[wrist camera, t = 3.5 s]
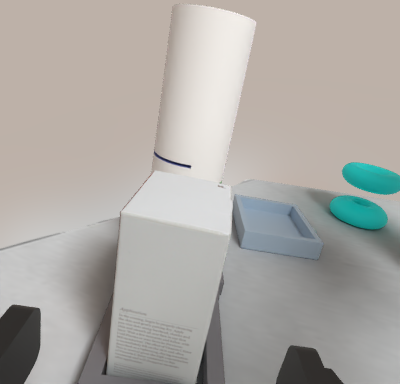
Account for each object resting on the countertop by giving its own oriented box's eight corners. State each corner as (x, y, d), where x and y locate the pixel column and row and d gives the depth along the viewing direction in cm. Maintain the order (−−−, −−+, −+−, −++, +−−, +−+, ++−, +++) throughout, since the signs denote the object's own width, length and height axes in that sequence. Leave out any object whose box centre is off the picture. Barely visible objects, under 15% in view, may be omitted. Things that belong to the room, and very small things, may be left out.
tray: (291, 218, 53) (296, 204, 53) (317, 260, 42) (323, 243, 41) (231, 208, 53) (234, 194, 52) (240, 247, 41) (245, 230, 40)
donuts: (347, 157, 61) (404, 172, 57) (331, 203, 65) (383, 220, 61) (343, 165, 53) (409, 184, 49) (324, 217, 57) (384, 238, 53)
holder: (216, 245, 41) (218, 235, 40) (232, 425, 20) (237, 410, 19) (133, 232, 40) (134, 221, 39) (63, 405, 19) (63, 388, 19)
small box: (136, 300, 29) (153, 168, 24) (203, 315, 29) (234, 184, 24) (102, 380, 21) (118, 209, 17) (192, 400, 21) (234, 234, 16)
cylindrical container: (152, 240, 39) (184, 17, 30) (207, 255, 38) (257, 29, 29) (129, 272, 32) (161, -2, 23) (195, 291, 31) (254, 14, 22)
